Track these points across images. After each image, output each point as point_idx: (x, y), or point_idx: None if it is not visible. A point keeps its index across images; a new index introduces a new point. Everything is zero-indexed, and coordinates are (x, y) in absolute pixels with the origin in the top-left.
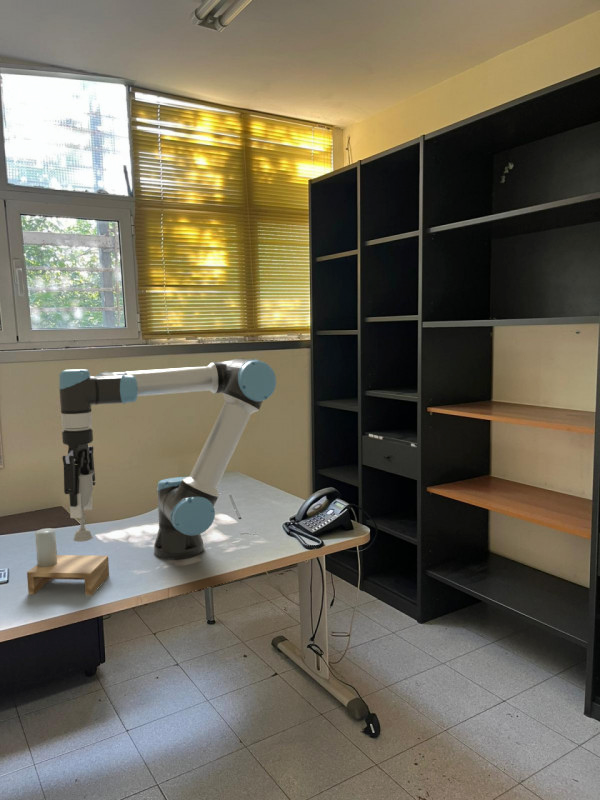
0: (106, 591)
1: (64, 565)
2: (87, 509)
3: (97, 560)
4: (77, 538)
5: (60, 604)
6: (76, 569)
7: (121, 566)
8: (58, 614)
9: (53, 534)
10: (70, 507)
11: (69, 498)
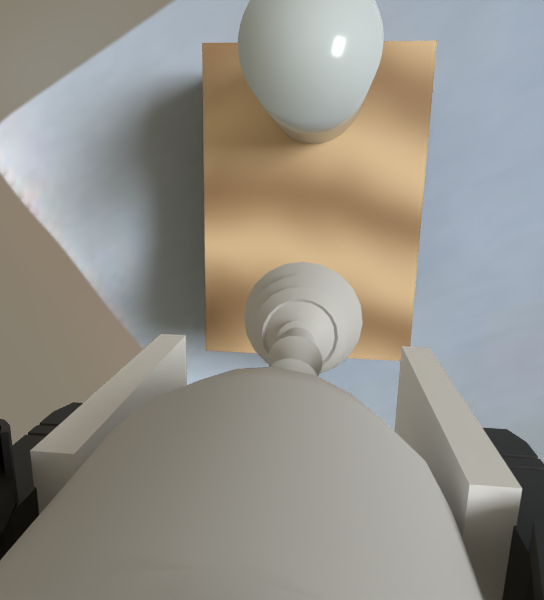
0: (260, 364)
1: (289, 197)
2: (397, 400)
3: None
4: (252, 308)
5: (152, 241)
6: (244, 275)
7: (497, 348)
8: (84, 266)
9: (295, 121)
10: (123, 374)
11: (70, 415)
